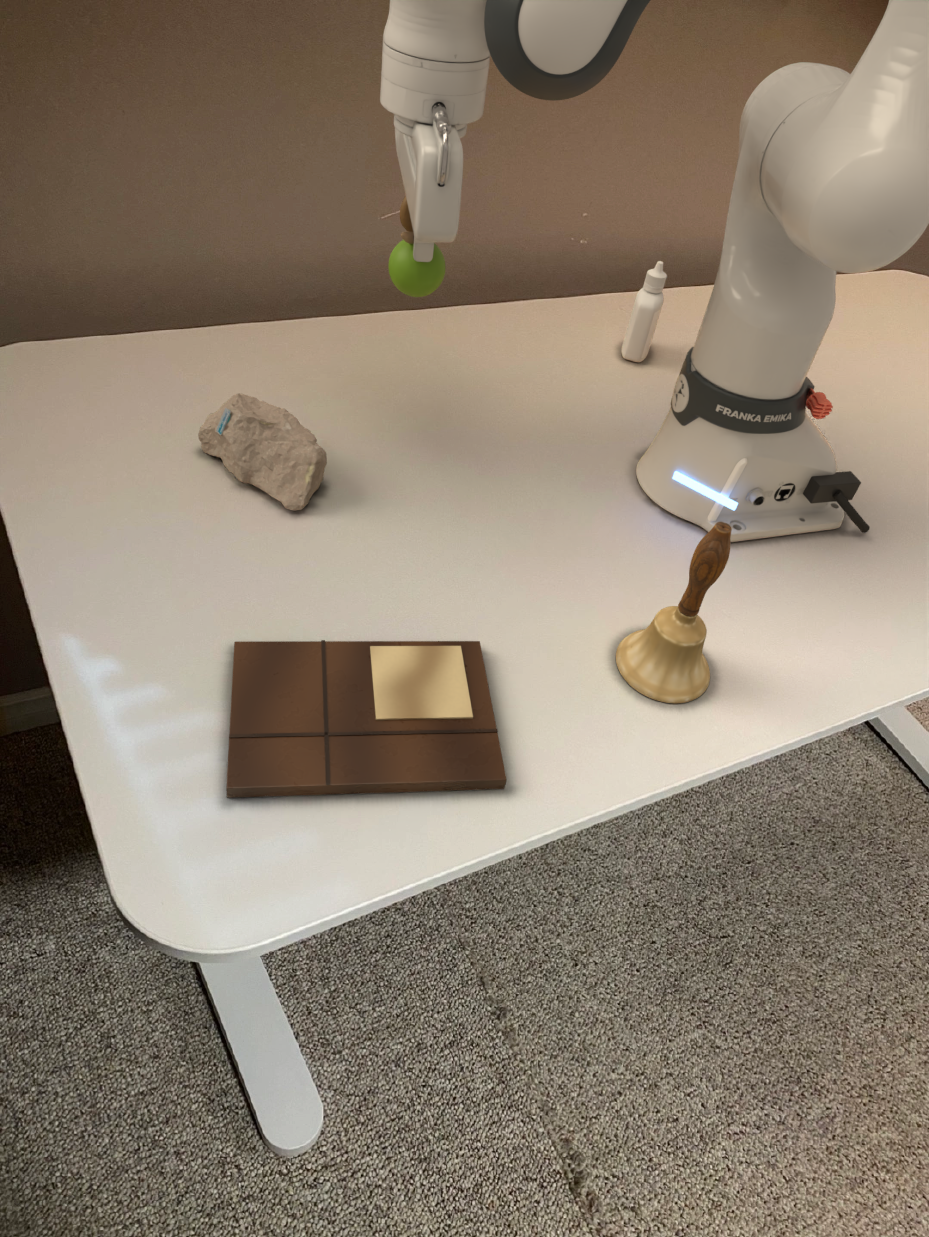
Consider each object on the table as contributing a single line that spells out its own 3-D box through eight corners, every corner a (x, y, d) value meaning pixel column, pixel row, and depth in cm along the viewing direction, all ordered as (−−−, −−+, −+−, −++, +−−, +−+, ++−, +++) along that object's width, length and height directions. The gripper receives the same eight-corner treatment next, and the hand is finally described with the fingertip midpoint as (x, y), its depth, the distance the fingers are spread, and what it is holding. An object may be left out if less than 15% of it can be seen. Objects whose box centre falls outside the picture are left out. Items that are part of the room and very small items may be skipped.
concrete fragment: (283, 521, 87) (283, 468, 83) (191, 450, 93) (187, 397, 88) (339, 492, 91) (342, 441, 87) (248, 426, 97) (246, 375, 93)
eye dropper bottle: (660, 354, 120) (688, 264, 112) (634, 366, 117) (660, 274, 109) (634, 339, 122) (660, 250, 114) (607, 350, 119) (632, 259, 111)
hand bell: (724, 700, 79) (797, 559, 67) (633, 707, 77) (693, 564, 65) (688, 629, 84) (750, 488, 73) (602, 634, 82) (653, 490, 71)
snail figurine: (460, 294, 92) (476, 167, 83) (415, 313, 88) (427, 182, 79) (420, 273, 94) (431, 148, 85) (375, 290, 90) (382, 160, 82)
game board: (477, 650, 79) (480, 639, 78) (504, 789, 69) (507, 778, 68) (235, 651, 75) (234, 639, 74) (227, 798, 65) (226, 786, 64)
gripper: (488, 132, 71) (467, 302, 81) (456, 54, 85) (441, 207, 95) (406, 125, 70) (394, 299, 80) (387, 47, 84) (379, 203, 94)
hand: (419, 248), depth 87 cm, fingers closed on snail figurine, 3 cm apart
